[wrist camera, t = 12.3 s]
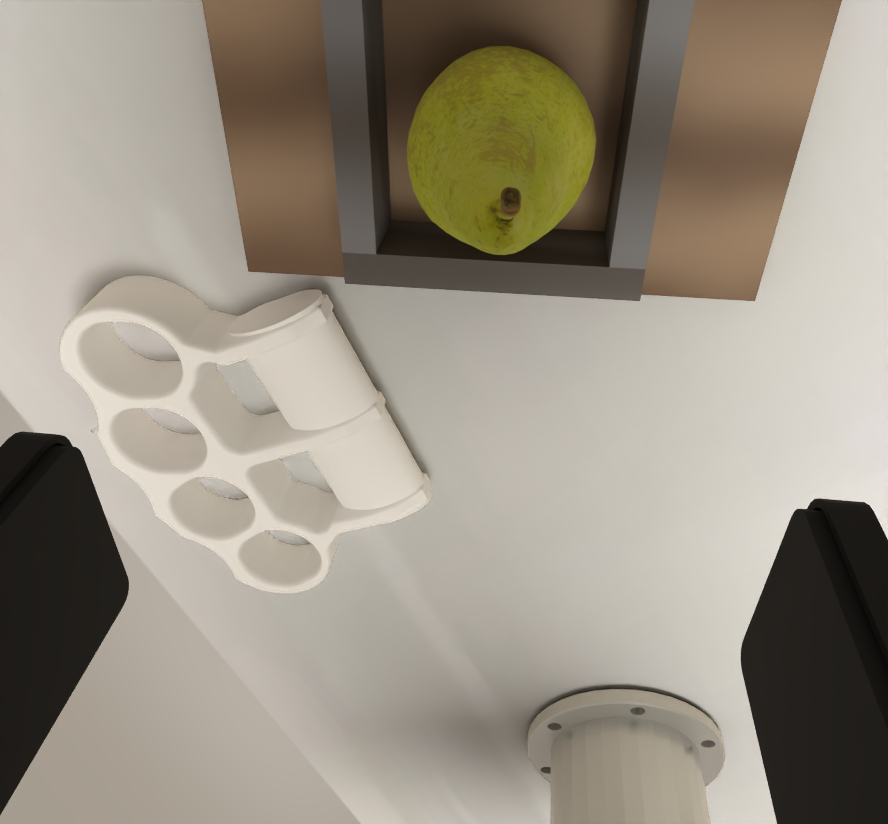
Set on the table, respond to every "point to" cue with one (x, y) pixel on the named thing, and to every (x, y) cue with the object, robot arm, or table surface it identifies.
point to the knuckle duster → (245, 425)
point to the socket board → (609, 100)
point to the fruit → (500, 148)
